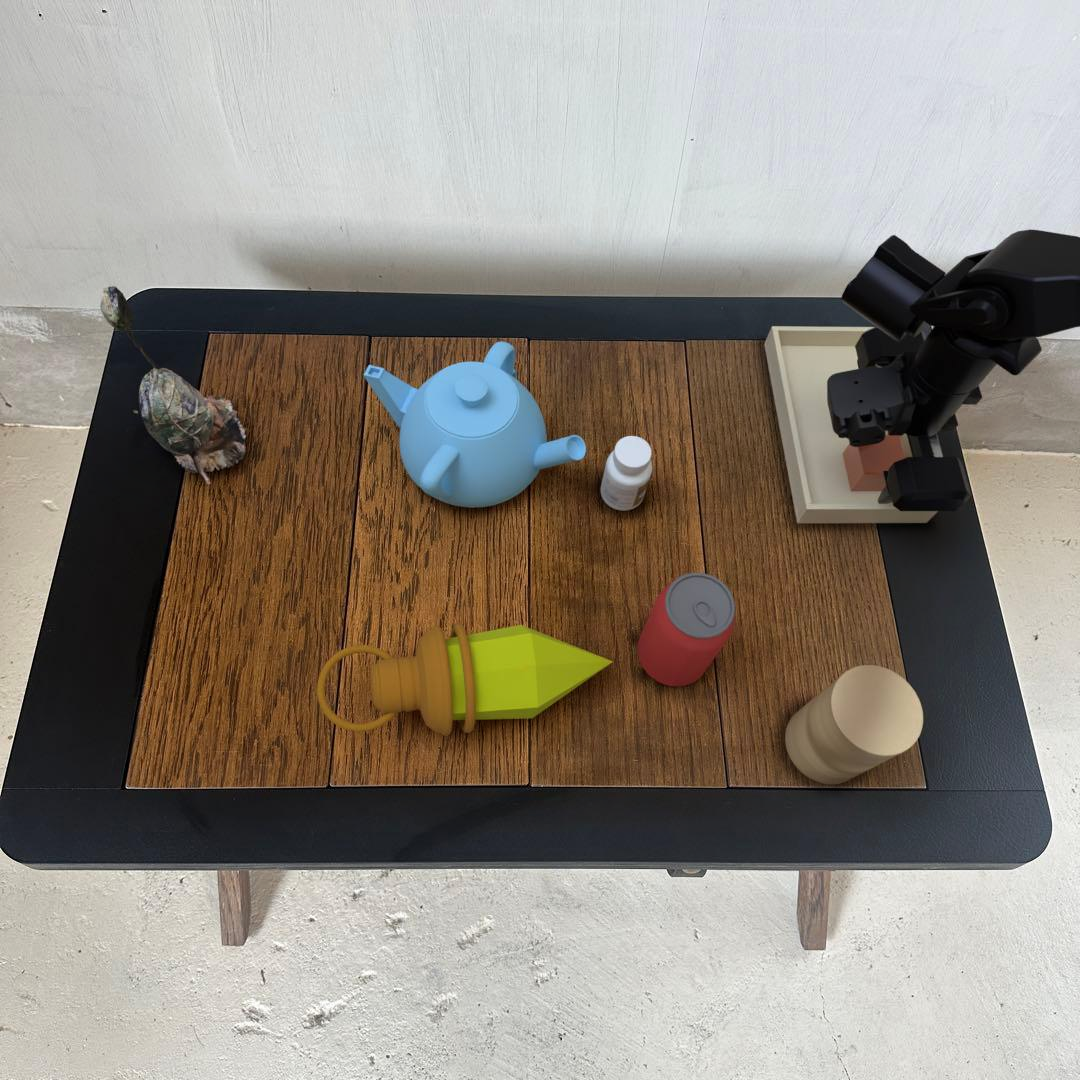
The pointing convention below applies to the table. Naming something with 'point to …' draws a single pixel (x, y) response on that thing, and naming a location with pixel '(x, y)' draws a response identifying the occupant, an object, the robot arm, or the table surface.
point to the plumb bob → (470, 677)
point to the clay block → (871, 463)
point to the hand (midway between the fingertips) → (873, 463)
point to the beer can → (686, 629)
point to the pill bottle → (627, 473)
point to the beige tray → (821, 427)
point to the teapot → (472, 430)
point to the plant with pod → (181, 408)
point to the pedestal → (854, 725)
